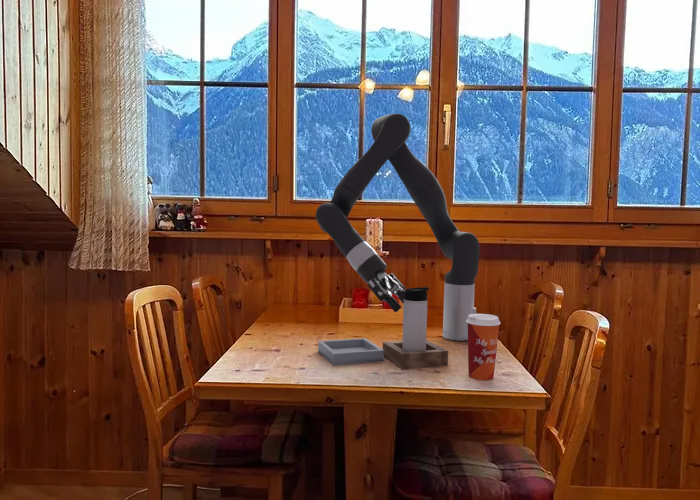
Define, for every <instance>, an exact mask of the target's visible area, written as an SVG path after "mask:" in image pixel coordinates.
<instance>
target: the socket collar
mask: <svg viewBox="0 0 700 500" xmlns="http://www.w3.org/2000/svg"><path fill="white" fill-rule="evenodd" d="M402 341H403V340H396V341H383V342H382V349H383V350H384V360H387V361H388V360H389V361H388V362H390V363H391V364H392V365H395V366H396V367H397V368H399V369H400V370H402V371H404V370H417V369H426V368H427V369H429V368H441V367H448V366H449V350H447V349H445V348H443V347H441V346H439V345H438V344H435V343H434V342H432V341H429V340H428V339H426V350H425V351H411V352H406V351H404V350H403V349H402Z"/></svg>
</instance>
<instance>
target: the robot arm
mask: <svg viewBox="0 0 700 500" xmlns="http://www.w3.org/2000/svg"><path fill="white" fill-rule="evenodd" d="M411 131H412V129H411V123H410V121H409V119H408V118H407V117H406V116H405V115H403V114H401V113H389V114H385V115H383V116H379V117H378V118H376V119H375V120H374V121H373V123H372V125H371V131H370V132H371V136H372V140H373V143H372V145H371V146H370V147H369V148H368V150H367V151H366V152H365V153H364V154H363V155H362V156H361V157H360V158H359V159H358V160H357V161H356V162H355V163H354V164H353V165H352V166H351V167H350V168H349V169H348V170H347V171H346V173H345V174H344V175H343V177H342V179H340V181H339V183H337V185H336V187H335V188H334V191H333V196H332V198H331V200H330V201H329V202H325V203H324V202H323V203H322V204H320V205H319V206H318V207H317V209H316V211H315V219H316V222H317V225H318V226H319V227H320V230H322V231H323V232H325V233H326V234H327V235H328V236H330V238H331V239H332V240H333V242H334V243H335V245H336V247H337V249H338V250H339V251H340V252H341V254H342V255H343V256H344V257H345V258H346V260H347V261H348V263H349V264H350V266H351V267H352V268H353V269H354V271H355V272H356V273H357V274H358V275H359V276H360V278H361V279H362V280H363V282H364V283H366V285H367V286H368V288H369V289H370V291H372V293H373V294H374V295H375V296H376V297H377V300H379V301H380V302H382V301H383V302H384V303H387V304H388V306H389V307H390V308H391V310H392V311H393V312H394V313H397V312H399V310H400V309H402V305H401V304H400V303H399V302H398V301H397V299H396V298H395V297H394V296H393V295H395V296H396V297H397V298H398V299H399V300H400V302H401V303H402V304H403V305H404V291H405V290H406V289H407V288H406V286H405V285H404V284H403V283H402V282H401V281H400V280H399V279H398V278H397V277H396V275H395V274H394V273H393V272H391V273H390V274H388V273H387V272H386V270H387V267H388V265H387V264H386V262H385V261H384V260H383V258H382V257H381V256H380V255H379V254H378V253H377V252H376V251H375V249H374V248H373V247H372V246H371V245H370V244H369V243H368V242H367V241H366V240H365V239H364V238H363V237H362V236H361V235H360V233H359V232H358V231H357V230H356V229H355V227H354V226H352V224H351V222H350V221H349V220H348V217H349V215H350V213H351V211H352V210H353V208H354V205H355V204H356V203H357V202H358V200H359V198H360V197H361V196H362V194H363V193H364V191H365V190H366V189H367V187H369V184H370V183H371V182H372V180H373V179H374V177H375V176H376V175H377V173H378V172H379V171H380V170H381V169H382V167H383V166H384V165H385V164H386V163H387V161H389V162H390V164H391V167H393V169H394V170H395V172H396V173H397V176H398V177H399V179H400V181H401V182H402V184H403V186H404V188H406V191H407V192H408V194H409V196H410V198H411V199H412V201H413V202H414V204H415V206H416V208H417V209H418V210H419V212H420V213H421V215H422V217H423V218H424V219H425V221H426V223H427V225H428V226H429V228H430V229H431V232H432V234H433V235H434V237H435V240H436V242H437V244H438V247H439V249H440V250H441V252H442V254H443V255H444V256H445V258H447V259H449V260H451V261H452V262H451V269H450V270H449V271H448V272H446V273H445V275H444V285H443V286H444V288H443V291H444V293H443V316H442V317H443V318H442V320H443V321H442V338H444V339H446V340H450V341H461V342H462V341H468V323H467V322H466V320H467V319H468V316H469V315H471V314H477V308H476V307H474V305H475V285H476V283H475V281H476V278H477V276H478V272H479V260H480V249H481V248H480V242H479V240H478V238H477V236H476V235H475V234H473V233H472V232H468V231H460V230H459V228H458V227H457V226H456V224H455V222H453V220H452V218H451V217H450V214H449V211H448V206H447V200H446V196H445V191H444V190H443V187H442V186H441V183H440V182H439V180H438V179H437V177H436V176H435V175H434V173H433V172H432V171H431V170H430V169H429V167H427V166H426V165H425V164H424V163H423V162H422V161H421V160H419V159H418V157H416V155H415V154H414V153H412V151H411V150H410V148H409V146H408V145H407V143H406V142H407V140H408V139H409V137H410V135H411Z"/></svg>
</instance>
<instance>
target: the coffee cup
mask: <svg viewBox="0 0 700 500" xmlns="http://www.w3.org/2000/svg"><path fill="white" fill-rule="evenodd" d="M466 322H467V323H468V340H467V362H468V363H467V364H468V365H467V367H468V368H467V370H468V377H469V378H471V379H473V380H477V381H492V380H493V379H494V375H495V367H496V362H497V361H496V359H497V352H498V351H497V349H498V342H499V341H498V340H499V331H500V325H501V321H500V319H499V316H498V315H494V314H489V313H488V314H487V313H476V314H471V315H469V316H468V319H467V320H466Z"/></svg>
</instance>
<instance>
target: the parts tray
mask: <svg viewBox="0 0 700 500" xmlns="http://www.w3.org/2000/svg"><path fill="white" fill-rule="evenodd" d="M317 343H318V345H317V347H318V348H317V352H318V353H319V354H320V355H321V356H323V358H325V359H326V360H327V361H328V362H329V363H330V364H331V365H332V366H342V365H351V364H353V365H354V364H355V363H356V364H364V363H365V364H367V363H366V362H369V363H378V362H377V361H382V362H384V360H385V358H384V350H383V348H382V347H380V346H378V345H377V344H375V343H374V342H372V341H370V340H369V339H368V338H365V337H362V338H348V339H347V338H346V339H331V340H330V339H329V340H328V339H327V340H318V342H317ZM356 364H355V365H356Z"/></svg>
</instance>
